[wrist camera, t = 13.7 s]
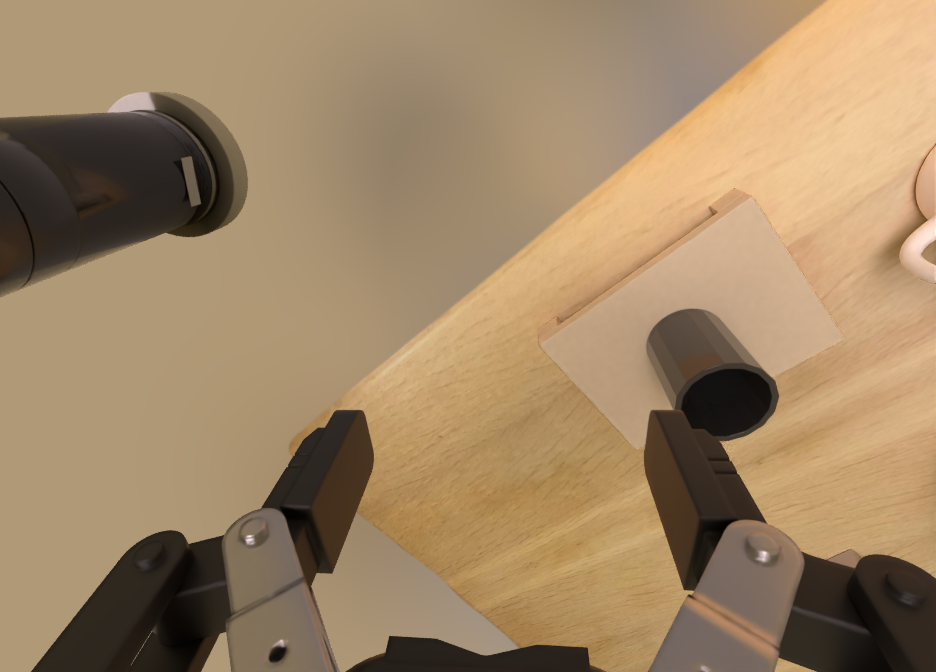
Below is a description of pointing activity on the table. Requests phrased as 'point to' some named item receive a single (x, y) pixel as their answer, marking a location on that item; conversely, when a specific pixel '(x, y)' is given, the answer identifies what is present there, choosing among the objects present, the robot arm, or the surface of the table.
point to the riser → (692, 287)
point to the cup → (932, 201)
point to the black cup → (710, 374)
